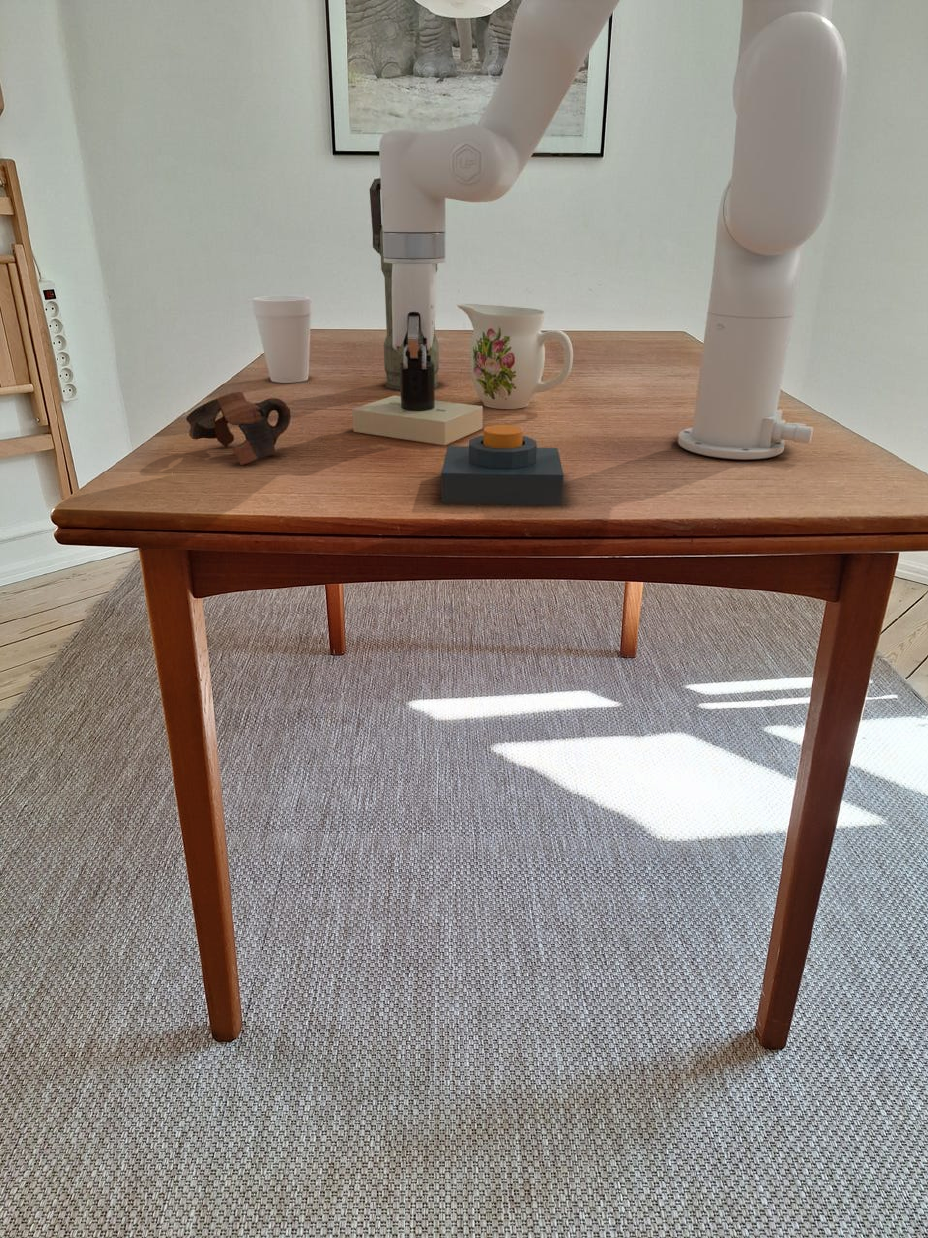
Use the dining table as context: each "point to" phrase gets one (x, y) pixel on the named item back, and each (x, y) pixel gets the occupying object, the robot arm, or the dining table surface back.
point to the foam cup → (285, 335)
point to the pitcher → (511, 354)
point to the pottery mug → (241, 424)
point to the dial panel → (418, 421)
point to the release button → (502, 436)
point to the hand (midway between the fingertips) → (417, 393)
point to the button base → (502, 474)
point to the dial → (431, 402)
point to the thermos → (390, 354)
